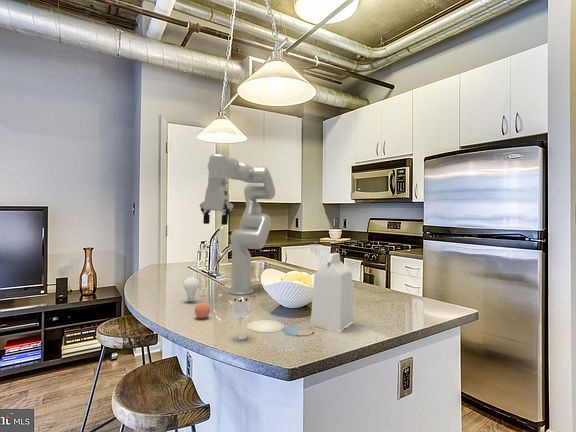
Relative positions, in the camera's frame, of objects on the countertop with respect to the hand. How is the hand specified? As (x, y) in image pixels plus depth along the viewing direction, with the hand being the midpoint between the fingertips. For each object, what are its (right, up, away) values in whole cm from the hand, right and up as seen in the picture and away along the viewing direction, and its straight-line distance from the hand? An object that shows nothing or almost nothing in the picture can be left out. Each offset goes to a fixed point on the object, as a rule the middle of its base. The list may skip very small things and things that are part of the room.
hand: (215, 224), depth 145 cm
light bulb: (-12, -34, +5) cm, 37 cm away
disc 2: (+34, -36, -27) cm, 57 cm away
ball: (-1, -32, -17) cm, 36 cm away
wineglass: (+15, -36, -35) cm, 53 cm away
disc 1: (+23, -36, -24) cm, 49 cm away
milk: (+47, -37, -20) cm, 63 cm away
